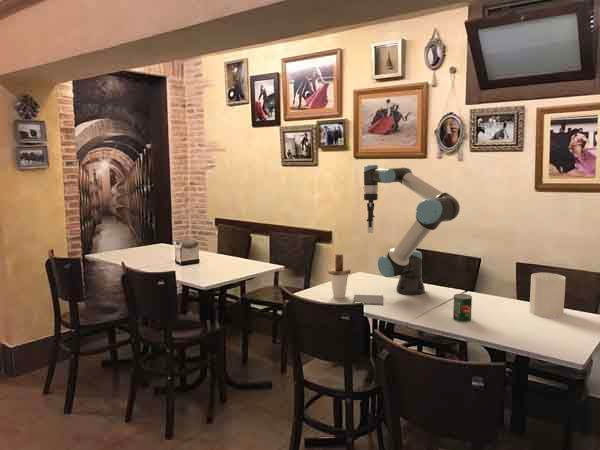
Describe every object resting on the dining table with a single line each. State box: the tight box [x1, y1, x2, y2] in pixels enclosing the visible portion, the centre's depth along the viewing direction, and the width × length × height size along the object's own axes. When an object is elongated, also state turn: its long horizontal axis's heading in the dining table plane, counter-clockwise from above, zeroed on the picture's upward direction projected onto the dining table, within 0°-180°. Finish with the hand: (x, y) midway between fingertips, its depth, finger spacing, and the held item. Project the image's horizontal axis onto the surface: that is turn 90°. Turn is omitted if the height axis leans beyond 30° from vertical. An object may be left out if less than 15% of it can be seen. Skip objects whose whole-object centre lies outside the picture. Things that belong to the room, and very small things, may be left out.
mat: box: [352, 294, 384, 306], centre depth 264 cm, size 15×15×1 cm
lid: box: [327, 253, 351, 276], centre depth 270 cm, size 12×12×10 cm
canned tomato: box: [452, 293, 473, 323], centre depth 232 cm, size 8×8×11 cm
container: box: [529, 272, 567, 319], centre depth 238 cm, size 14×14×18 cm
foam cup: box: [329, 274, 349, 299], centre depth 271 cm, size 10×9×13 cm
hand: (370, 231), depth 283 cm, fingers open, 13 cm apart
